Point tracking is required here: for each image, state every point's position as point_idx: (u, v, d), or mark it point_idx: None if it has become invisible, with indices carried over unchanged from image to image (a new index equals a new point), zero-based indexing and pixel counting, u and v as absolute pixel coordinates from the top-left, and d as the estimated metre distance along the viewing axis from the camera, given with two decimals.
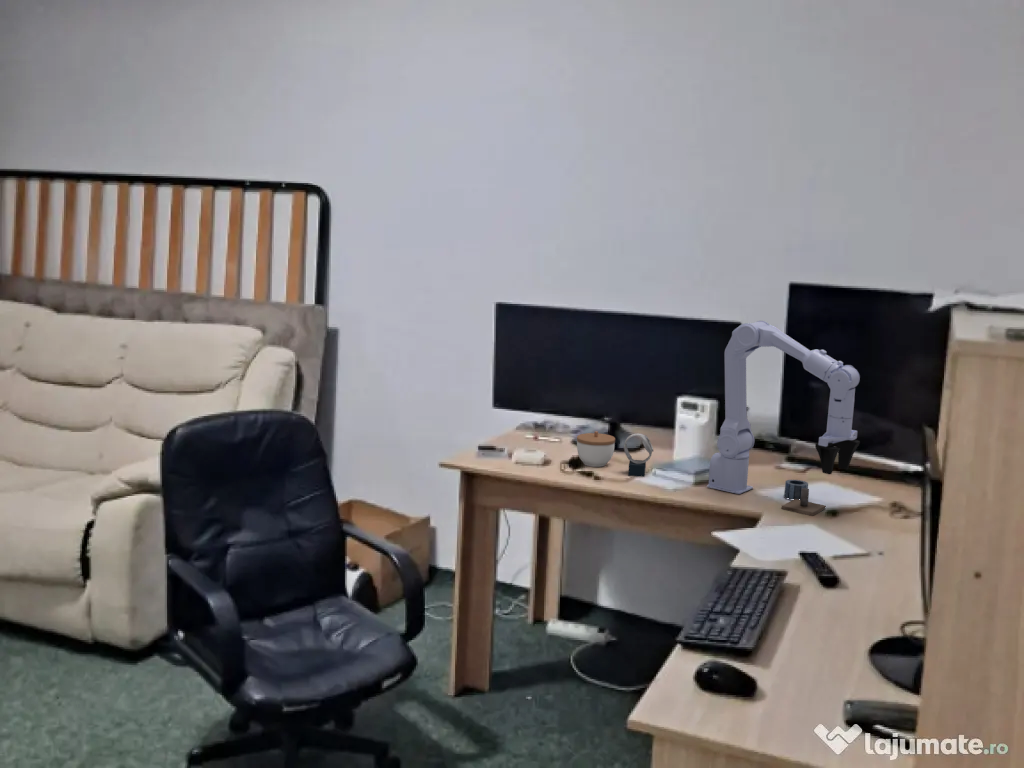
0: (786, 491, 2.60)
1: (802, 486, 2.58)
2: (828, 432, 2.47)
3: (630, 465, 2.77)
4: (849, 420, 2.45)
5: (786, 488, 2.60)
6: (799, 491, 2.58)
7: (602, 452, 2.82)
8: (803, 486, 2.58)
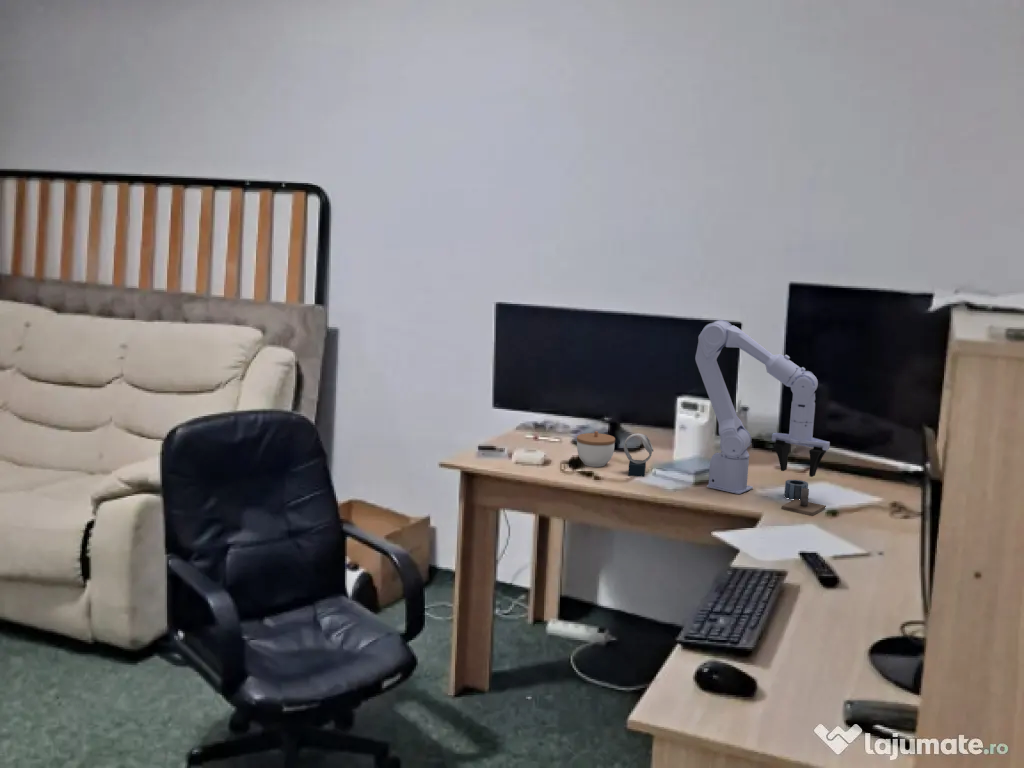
0: (786, 491, 2.60)
1: (802, 486, 2.58)
2: None
3: (630, 465, 2.77)
4: (795, 423, 2.56)
5: (786, 488, 2.60)
6: (799, 491, 2.58)
7: (602, 452, 2.82)
8: (803, 486, 2.58)
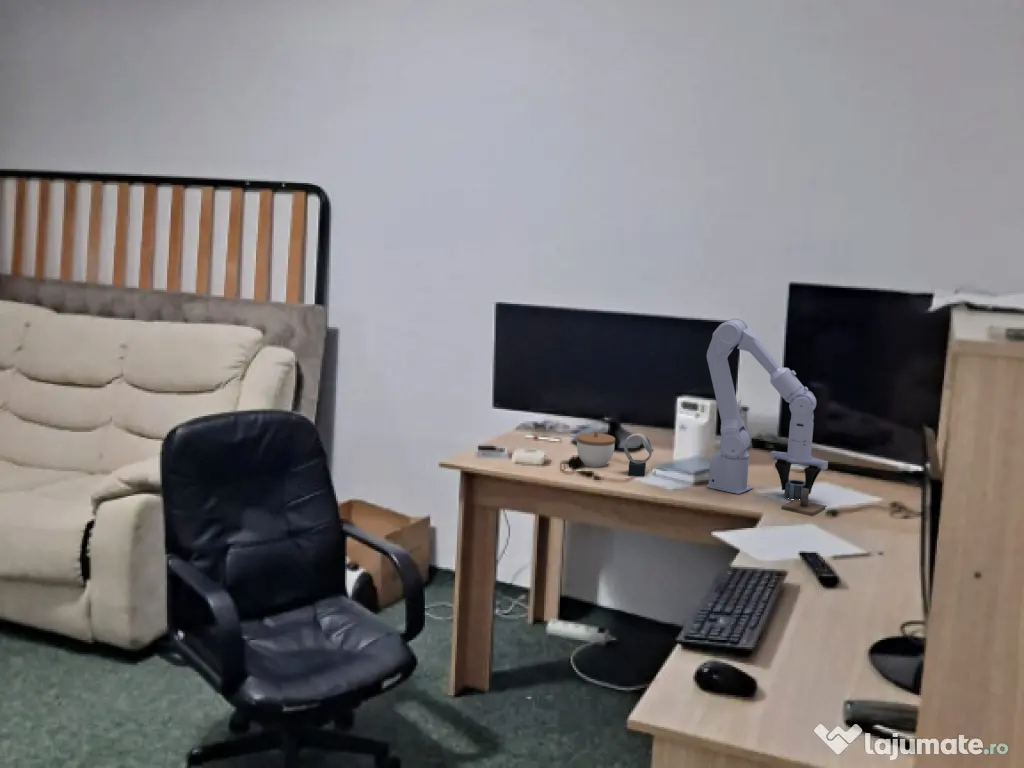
0: (786, 491, 2.60)
1: (802, 486, 2.58)
2: None
3: (630, 465, 2.77)
4: (793, 442, 2.56)
5: (786, 488, 2.60)
6: (799, 491, 2.58)
7: (602, 452, 2.82)
8: (803, 486, 2.58)
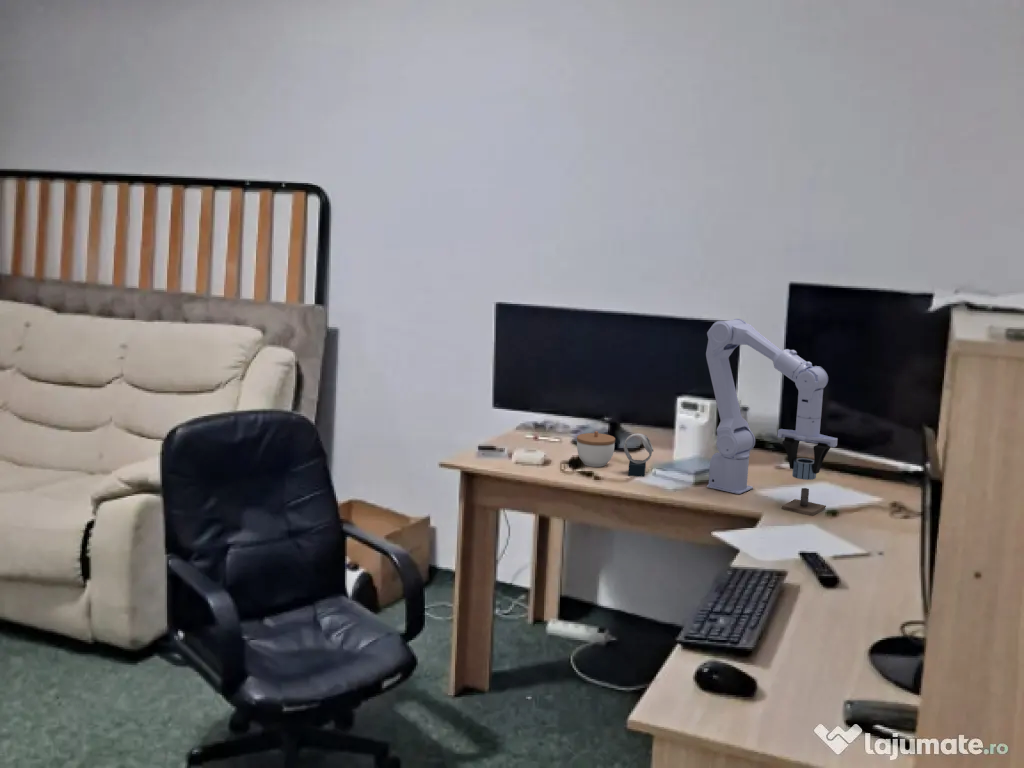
0: (794, 470, 2.52)
1: (811, 464, 2.50)
2: None
3: (630, 465, 2.77)
4: (801, 419, 2.49)
5: (794, 467, 2.52)
6: (808, 470, 2.50)
7: (602, 452, 2.82)
8: (812, 464, 2.50)
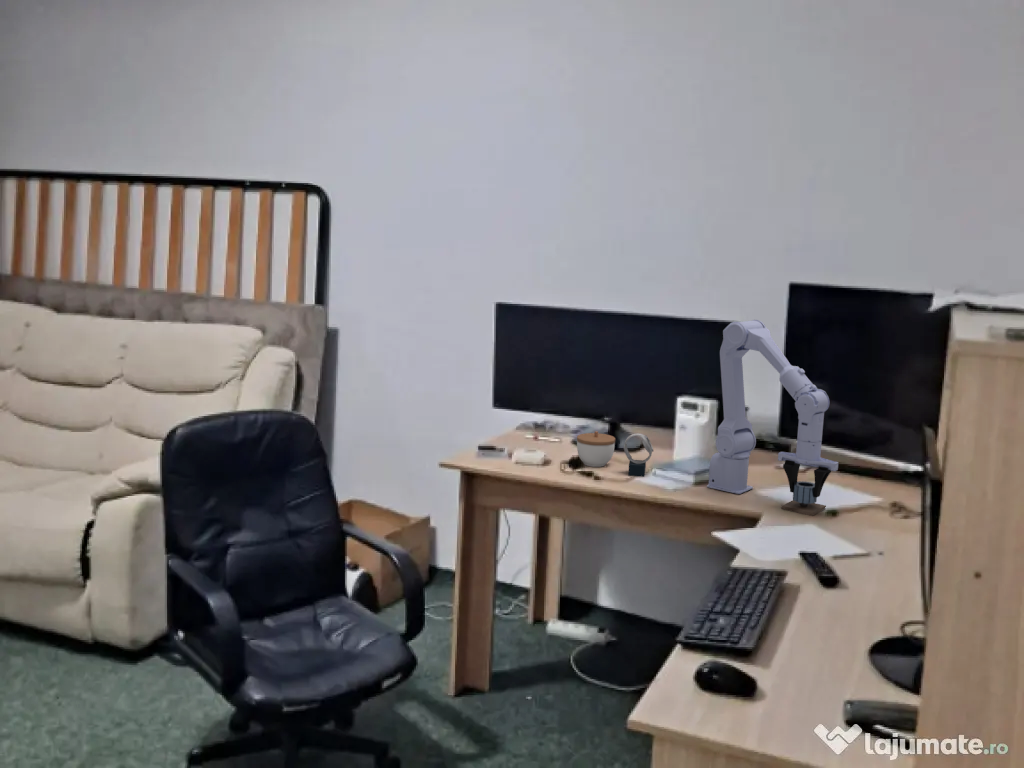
0: (795, 493, 2.50)
1: (811, 488, 2.48)
2: None
3: (630, 465, 2.77)
4: (802, 443, 2.47)
5: (795, 490, 2.50)
6: (808, 493, 2.48)
7: (602, 452, 2.82)
8: (812, 488, 2.48)
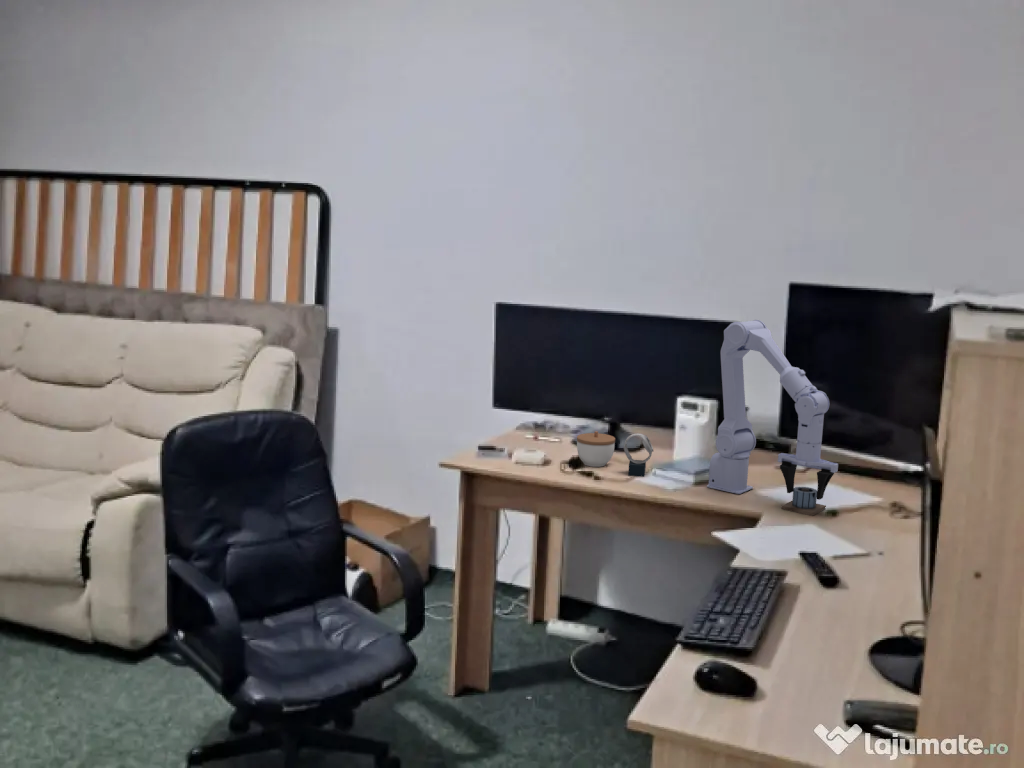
0: (794, 499, 2.50)
1: (811, 494, 2.48)
2: None
3: (630, 465, 2.77)
4: (802, 444, 2.47)
5: (794, 496, 2.50)
6: (808, 499, 2.48)
7: (602, 452, 2.82)
8: (812, 494, 2.48)
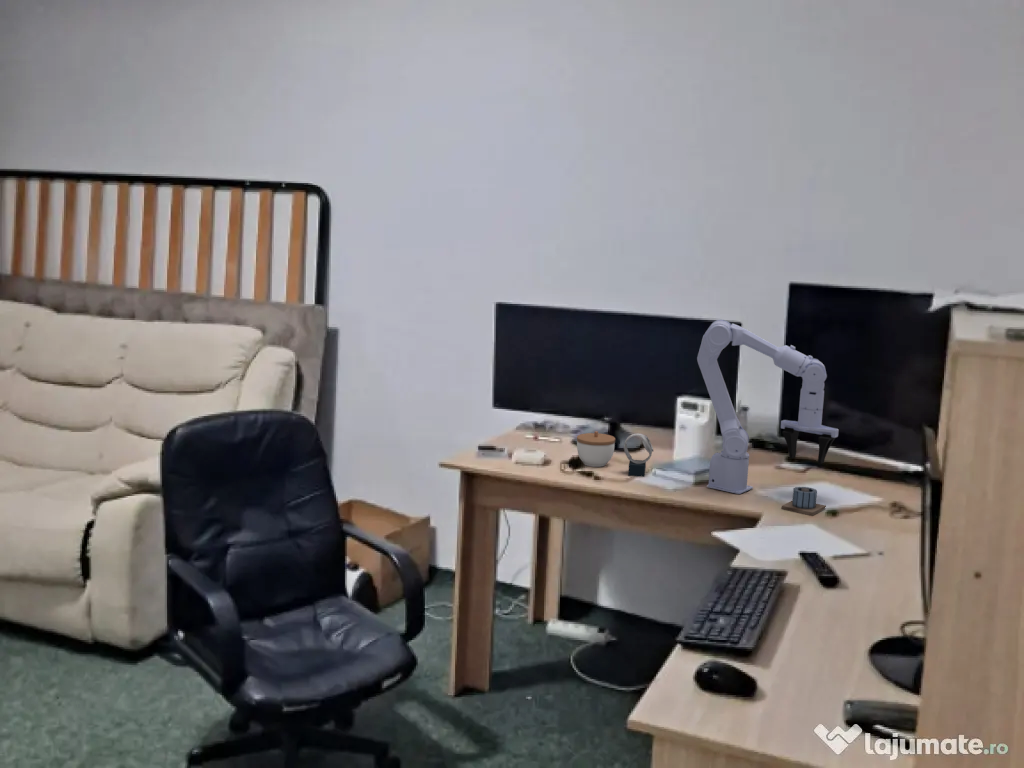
0: (794, 499, 2.50)
1: (811, 494, 2.48)
2: None
3: (630, 465, 2.77)
4: (804, 410, 2.57)
5: (794, 496, 2.50)
6: (808, 499, 2.48)
7: (602, 452, 2.82)
8: (812, 494, 2.48)
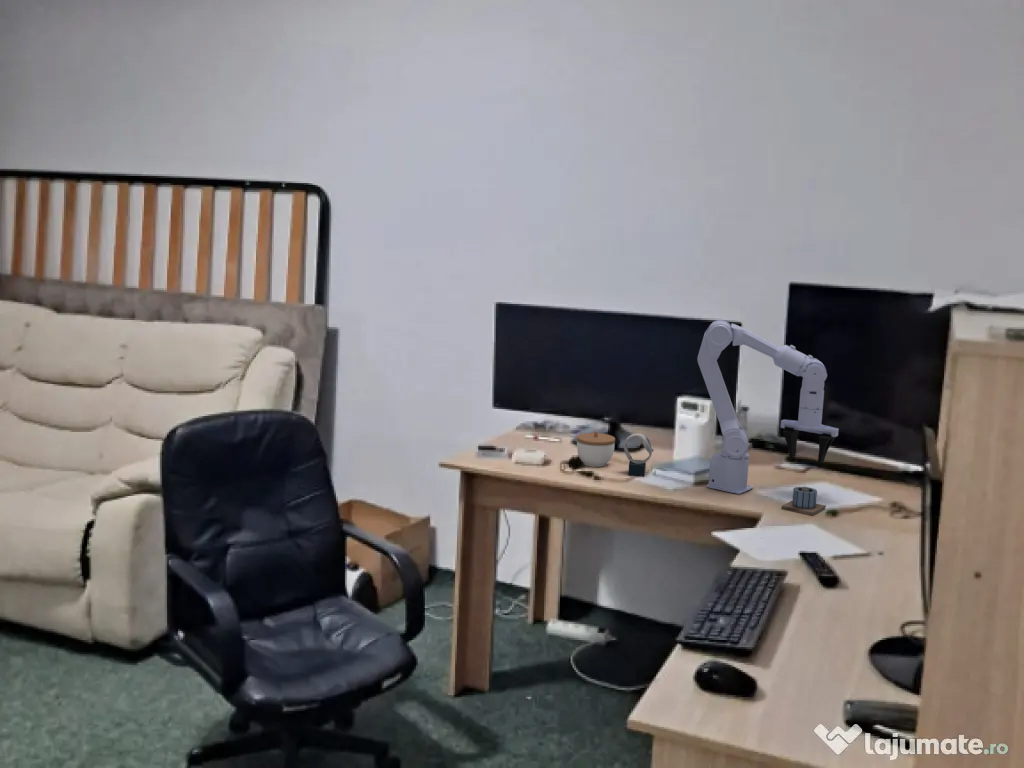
0: (794, 499, 2.50)
1: (811, 494, 2.48)
2: None
3: (630, 465, 2.77)
4: (804, 410, 2.58)
5: (794, 496, 2.50)
6: (808, 499, 2.48)
7: (602, 452, 2.82)
8: (812, 494, 2.48)
